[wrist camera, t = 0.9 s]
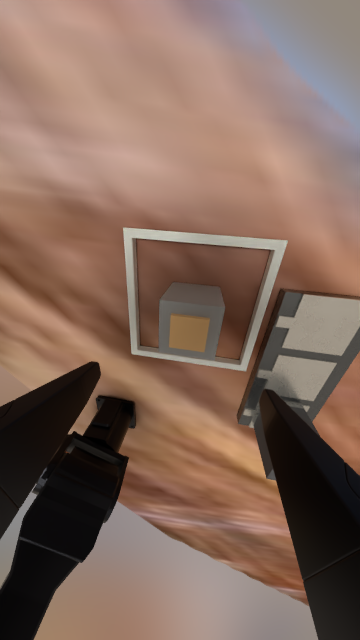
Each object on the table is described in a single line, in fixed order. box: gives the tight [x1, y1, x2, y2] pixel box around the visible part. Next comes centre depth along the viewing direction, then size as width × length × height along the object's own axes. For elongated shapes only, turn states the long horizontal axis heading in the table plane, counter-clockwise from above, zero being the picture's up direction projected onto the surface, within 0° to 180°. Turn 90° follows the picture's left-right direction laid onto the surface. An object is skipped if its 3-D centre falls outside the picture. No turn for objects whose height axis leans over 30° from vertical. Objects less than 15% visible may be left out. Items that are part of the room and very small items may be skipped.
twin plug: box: [254, 406, 320, 480], centre depth 20 cm, size 5×5×6 cm
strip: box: [237, 289, 360, 428], centre depth 20 cm, size 20×9×1 cm, turn 176°
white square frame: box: [123, 228, 288, 371], centre depth 19 cm, size 15×15×1 cm
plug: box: [158, 282, 225, 360], centre depth 16 cm, size 5×5×6 cm
